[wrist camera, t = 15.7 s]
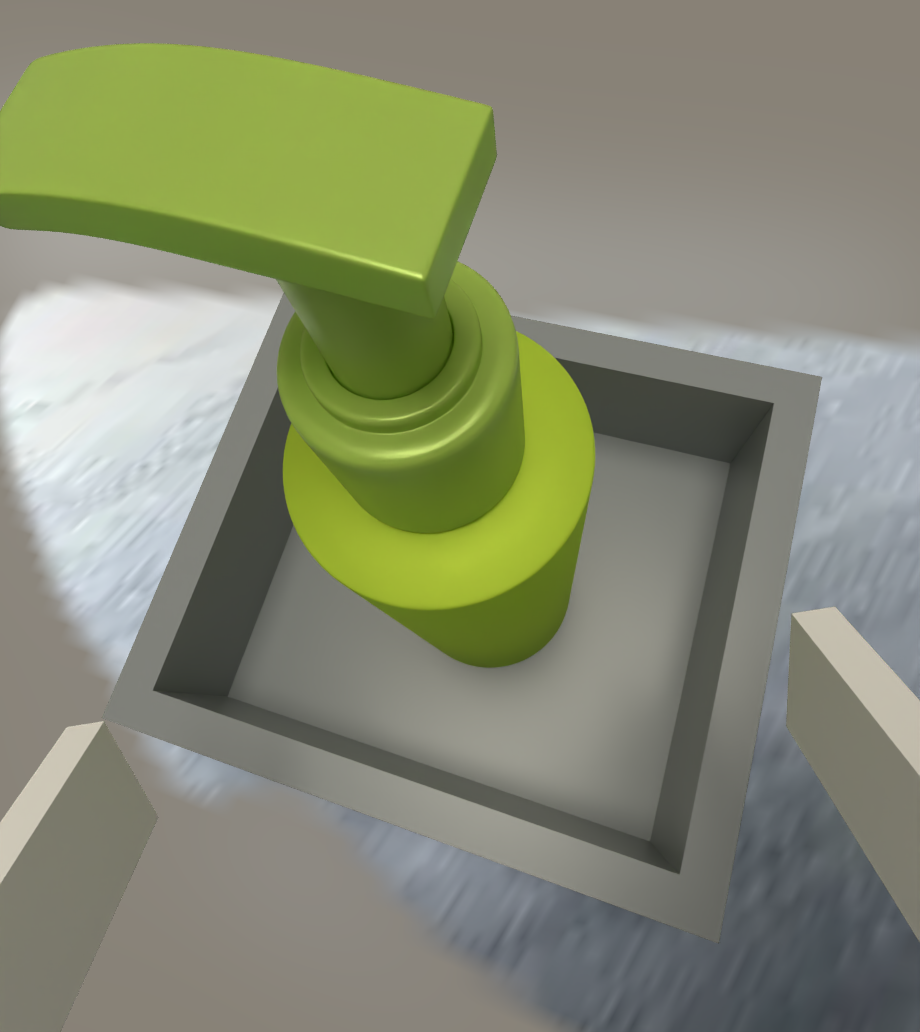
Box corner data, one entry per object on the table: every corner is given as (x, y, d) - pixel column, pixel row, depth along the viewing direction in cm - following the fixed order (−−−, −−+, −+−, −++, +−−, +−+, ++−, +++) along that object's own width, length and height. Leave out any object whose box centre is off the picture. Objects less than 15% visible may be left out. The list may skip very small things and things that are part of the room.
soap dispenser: (416, 487, 26) (82, -120, 7) (588, 535, 25) (728, -61, 6) (364, 630, 25) (-219, 336, 6) (544, 689, 23) (538, 557, 4)
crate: (761, 452, 26) (822, 376, 20) (673, 886, 22) (718, 943, 16) (340, 358, 30) (292, 272, 24) (199, 719, 26) (101, 718, 20)
